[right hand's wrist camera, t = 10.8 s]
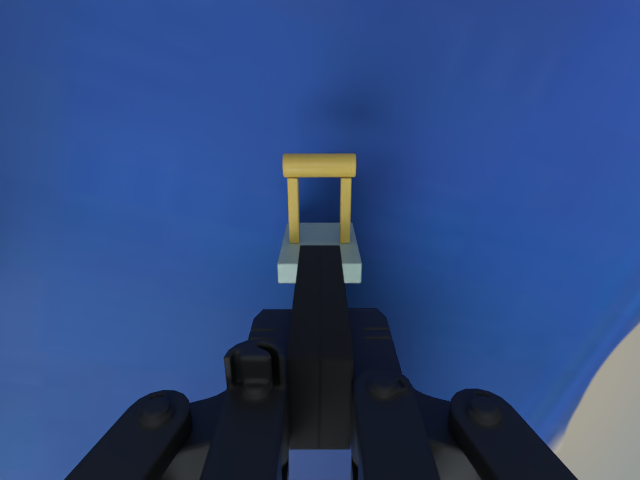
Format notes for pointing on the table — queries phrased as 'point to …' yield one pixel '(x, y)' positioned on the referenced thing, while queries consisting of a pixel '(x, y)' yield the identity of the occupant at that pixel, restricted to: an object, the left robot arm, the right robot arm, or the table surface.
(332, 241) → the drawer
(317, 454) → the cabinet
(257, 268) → the table surface
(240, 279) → the table surface
